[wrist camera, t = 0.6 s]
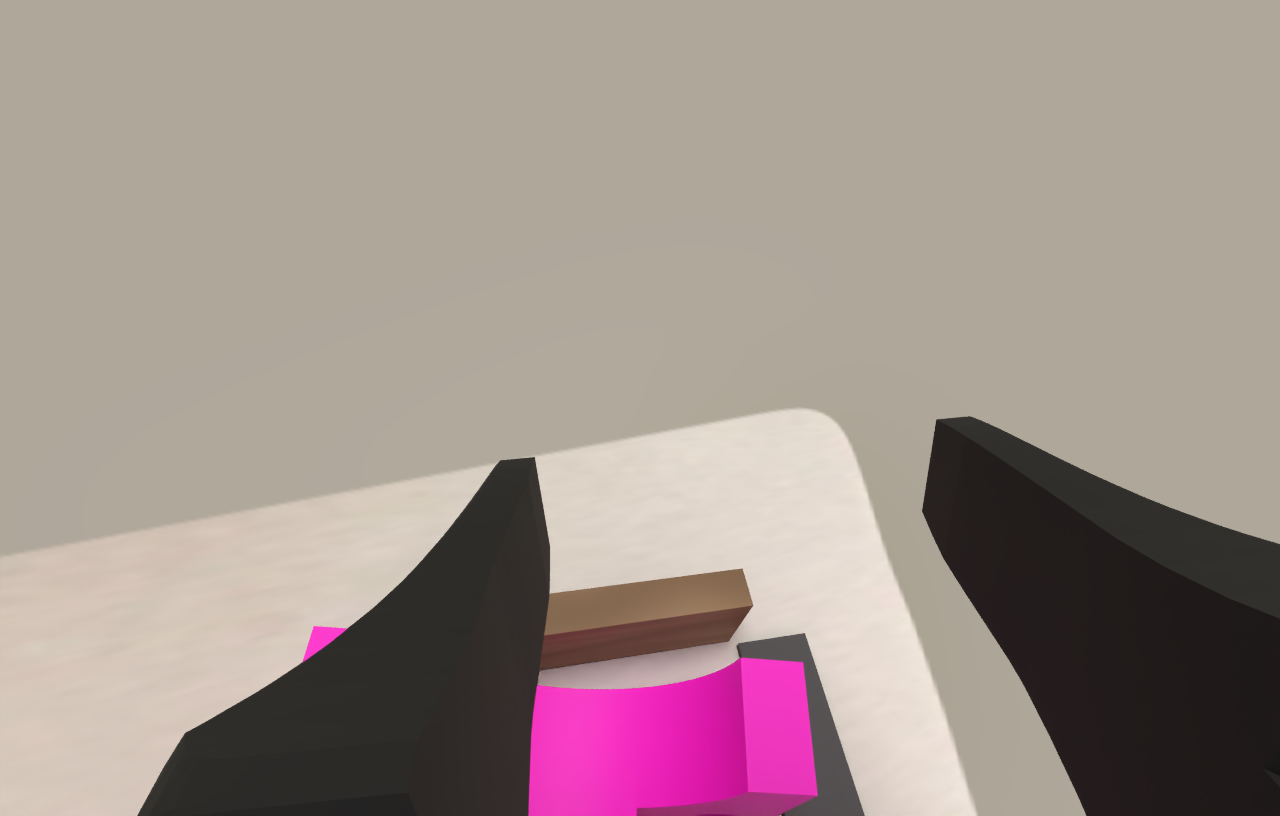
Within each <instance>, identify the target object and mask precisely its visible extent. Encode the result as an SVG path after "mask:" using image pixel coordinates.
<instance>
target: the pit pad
mask: <svg viewBox="0 0 1280 816" xmlns="http://www.w3.org/2000/svg"><path fill="white" fill-rule="evenodd" d="M737 648H738V652H739V656H740V658H752V659H765V660H779V661H793V662H803V665H804V675H805V684H806V693H807V702H808V711H809V720H810V729H811V739H812V748H813V757H814V766H815V775H816V784H817V793H818V796H816V797H814V798H812V799H810V800H808V801H806V802H804V803H802V804H800V805H798V806H796V807H794V808H792V809H790V810H788V811H786V812H784V813H782V815H783V816H864V812H863V809H862V806H861V803H860V800H859V797H858V794H857V791H856V788H855V785H854V782H853V779H852V776H851V773H850V770H849V767H848V764H847V761H846V758H845V754H844V751H843V748H842V745H841V742H840V739H839V736H838V733H837V730H836V727H835V724H834V721H833V718H832V715H831V712H830V709H829V706H828V703H827V700H826V696H825V693H824V690H823V687H822V684H821V681H820V678H819V675H818V672H817V669H816V666H815V663H814V660H813V657H812V654H811V651H810V648H809V645H808V642H807V638H806V635H805V633H803V634H797V635H790V636H784V637H777V638H771V639H764V640H758V641H752V642H745V643H739V644H738V645H737Z"/></svg>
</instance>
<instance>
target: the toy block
mask: <svg viewBox="0 0 1280 816" xmlns="http://www.w3.org/2000/svg"><path fill="white" fill-rule="evenodd" d="M345 630H346V628H332V627H319V626H314V627H313V630H312V634H311V637H310V640H309V643H308V646H307V650H306V653H305V656H304V659H303V662H304V661H305V660H307V659H308V658H309V657H311V656H312V655H314V654H315V653H316V652H318V651H319V650H321V649H322V648H323V647H325V646H326V645H328V644H329V643H330V642H331V641H333V640H334V639H335V638H336V637H338V636H339V635H340V634H341V633H343V632H344V631H345ZM816 796H818V793H817V784H816V775H815V766H814V757H813V748H812V739H811V729H810V720H809V711H808V702H807V693H806V684H805V675H804V665H803V662H793V661H779V660H765V659H752V658H740V659H738V660H737V661H736V662H734V663H733V664H731V665H729V666H727V667H726V668H724V669H721V670H719V671H717V672H715V673H712V674H709V675H706V676H703V677H700V678H696V679H693V680H688V681H684V682H679V683H674V684H668V685H661V686H654V687H644V688H632V689H572V688H559V687H549V686H540V685H537V690H536V697H535V704H534V712H533V723H532V733H531V757H530V783H529V816H778V815H780V814H782V813H784V812H786V811H788V810H790V809H792V808H794V807H796V806H798V805H800V804H802V803H804V802H806V801H808V800H810V799H812V798H814V797H816Z"/></svg>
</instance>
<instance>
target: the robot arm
mask: <svg viewBox="0 0 1280 816" xmlns="http://www.w3.org/2000/svg"><path fill="white" fill-rule="evenodd" d="M922 512H923V514H924V516H925V519H926V521H927V524H928V526H929V528H930V531H931V533H932V535H933V537H934V539H935V542H936V544H937V546H938V548H939V550H940V552H941V554H942V556H943V558H944V560H945V562H946V563H947V565H948V566H949V568H950V570H951V571H952V573H953V574H954V576H955V578H956V579H957V581H958V582H959V584H960V585H961V587H962V589H963V590H964V592H965V593H966V595H967V596H968V598H969V599H970V601H971V602H972V604H973V606H974V607H975V608H976V610H977V612H978V613H979V615H980V616H981V618H982V619H983V621H984V622H985V624H986V625H987V627H988V629H989V630H990V632H991V633H992V635H993V636H994V638H995V639H996V641H997V642H998V644H999V645H1000V647H1001V649H1002V650H1003V652H1004V653H1005V655H1006V656H1007V658H1008V659H1009V661H1010V663H1011V664H1012V666H1013V668H1014V669H1015V671H1016V673H1017V674H1018V676H1019V677H1020V679H1021V681H1022V683H1023V685H1024V686H1025V688H1026V690H1027V692H1028V694H1029V696H1030V698H1031V700H1032V702H1033V704H1034V706H1035V708H1036V710H1037V712H1038V714H1039V716H1040V718H1041V720H1042V722H1043V724H1044V726H1045V728H1046V730H1047V732H1048V734H1049V736H1050V738H1051V740H1052V742H1053V744H1054V746H1055V748H1056V750H1057V752H1058V755H1059V757H1060V759H1061V761H1062V763H1063V765H1064V767H1065V769H1066V772H1067V774H1068V776H1069V778H1070V780H1071V782H1072V784H1073V786H1074V788H1075V791H1076V793H1077V795H1078V797H1079V799H1080V802H1081V804H1082V806H1083V809H1084V811H1085V813H1086V816H1280V544H1277V543H1274V542H1270V541H1267V540H1264V539H1260V538H1257V537H1254V536H1250V535H1247V534H1243V533H1241V532H1238V531H1235V530H1231V529H1228V528H1225V527H1222V526H1219V525H1216V524H1213V523H1210V522H1208V521H1205V520H1203V519H1199V518H1197V517H1194V516H1191V515H1189V514H1186V513H1183V512H1181V511H1178V510H1175V509H1172V508H1169V507H1167V506H1165V505H1162V504H1160V503H1157V502H1155V501H1152V500H1150V499H1147V498H1145V497H1142V496H1140V495H1138V494H1135V493H1133V492H1131V491H1129V490H1126V489H1124V488H1122V487H1119V486H1117V485H1115V484H1112V483H1110V482H1108V481H1106V480H1103V479H1101V478H1099V477H1097V476H1095V475H1093V474H1090V473H1088V472H1086V471H1084V470H1082V469H1080V468H1078V467H1076V466H1074V465H1071V464H1070V463H1068V462H1065V461H1063V460H1061V459H1059V458H1057V457H1055V456H1053V455H1051V454H1049V453H1047V452H1045V451H1043V450H1041V449H1039V448H1037V447H1035V446H1033V445H1031V444H1029V443H1027V442H1025V441H1023V440H1021V439H1019V438H1017V437H1015V436H1013V435H1011V434H1009V433H1007V432H1005V431H1003V430H1001V429H999V428H996V427H994V426H992V425H990V424H988V423H985V422H983V421H981V420H978V419H976V418H973V417H970V416H969V417H959V418H948V419H937V420H936V426H935V432H934V438H933V445H932V452H931V457H930V464H929V471H928V477H927V483H926V490H925V496H924V502H923V509H922ZM549 590H550V544H549V538H548V532H547V527H546V521H545V515H544V509H543V503H542V497H541V492H540V486H539V480H538V474H537V468H536V462H535V457H532V458H521V459H511V460H500V461H499V463H498V464H497V465H496V466H495V467H494V469H493V470H492V471H491V473H490V474H489V476H488V477H487V479H486V480H485V481H484V483H483V484H482V486H481V487H480V489H479V490H478V491H477V493H476V494H475V495H474V497H473V498H472V500H471V501H470V502H469V504H468V505H467V506H466V508H465V509H464V510H463V512H462V513H461V514H460V515H459V517H458V518H457V519H456V520H455V522H454V523H453V524H452V526H451V527H450V528H449V529H448V531H447V532H446V533H445V534H444V536H443V537H442V538H441V539H440V540H439V541H438V543H437V544H436V545H435V546H434V547H433V548H432V549H431V551H430V552H429V553H428V554H427V555H426V556H425V557H424V559H423V560H422V561H421V562H420V563H419V564H418V565H417V566H416V567H415V569H414V570H413V571H412V572H411V573H410V574H409V575H408V576H407V577H406V578H405V579H404V580H403V581H402V582H401V583H400V584H399V585H398V586H397V587H396V588H395V589H393V590H392V591H391V592H390V593H389V594H388V595H387V596H386V597H385V598H384V599H383V600H382V601H381V602H379V603H378V604H377V605H376V606H375V607H374V608H373V609H371V610H370V611H369V612H368V613H366V614H365V615H364V616H363V617H361V618H360V619H359V620H358V621H356V622H355V623H354V624H353V625H351V626H350V627H349V628H348V629H346V630H345V631H344V632H343V633H341V634H340V635H339V636H338V637H336V638H335V639H334V640H333V641H331V642H330V643H329V644H328V645H326V646H325V647H323V648H322V649H321V650H319V651H318V652H316V653H315V654H314V655H312V656H311V657H309V658H308V659H307V660H305V661H304V662H302V663H301V664H300V665H298V666H297V667H295V668H294V669H292V670H290V671H289V672H287V673H286V674H284V675H283V676H281V677H280V678H278V679H277V680H275V681H274V682H272V683H271V684H269V685H268V686H266V687H264V688H263V689H261V690H260V691H258V692H256V693H255V694H253V695H251V696H250V697H248V698H246V699H244V700H243V701H241V702H239V703H237V704H236V705H234V706H232V707H231V708H229V709H227V710H225V711H224V712H222V713H220V714H218V715H217V716H215V717H213V718H212V719H210V720H208V721H206V722H205V723H203V724H201V725H199V726H197V727H196V728H194V729H192V730H190V731H188V732H186V733H185V734H184V736H183V737H182V739H181V741H180V742H179V744H178V745H177V747H176V748H175V750H174V752H173V753H172V755H171V756H170V758H169V760H168V761H167V763H166V764H165V766H164V768H163V770H162V771H161V773H160V775H159V777H158V779H157V781H156V782H155V784H154V786H153V788H152V790H151V792H150V793H149V795H148V797H147V799H146V801H145V803H144V804H143V806H142V808H141V810H140V812H139V814H138V815H137V816H529V783H530V757H531V733H532V723H533V712H534V704H535V697H536V690H537V683H538V676H539V669H540V662H541V654H542V647H543V640H544V633H545V626H546V618H547V611H548V603H549Z"/></svg>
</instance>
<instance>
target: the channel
mask: <svg viewBox="0 0 1280 816" xmlns="http://www.w3.org/2000/svg"><path fill="white" fill-rule="evenodd" d="M752 607H753V603H752V600H751V596H750V593H749V589H748V586H747V583H746V579H745V576H744V572H743V569H736V570H728V571H720V572H713V573H705V574H697V575H690V576H682V577H675V578H667V579H659V580H652V581H644V582H636V583H629V584H621V585H613V586H606V587H598V588H591V589H583V590H575V591H568V592H560V593H552V594H549V603H548V611H547V618H546V626H545V633H544V640H543V647H542V654H541V662H540V669H539V670H544V669H550V668H557V667H563V666H570V665H576V664H583V663H589V662H596V661H602V660H609V659H615V658H622V657H628V656H635V655H641V654H648V653H654V652H661V651H667V650H674V649H680V648H687V647H693V646H700V645H706V644H713V643H719V642H726V641H729V640H730V638H731V637H732V635H733V634H734V632H735V631H736V630H737V628H738V627H739V625H740V624H741V622H742V621H743V620H744V618H745V617H746V615H747V614H748V612H749V611H750V609H751V608H752Z"/></svg>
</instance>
